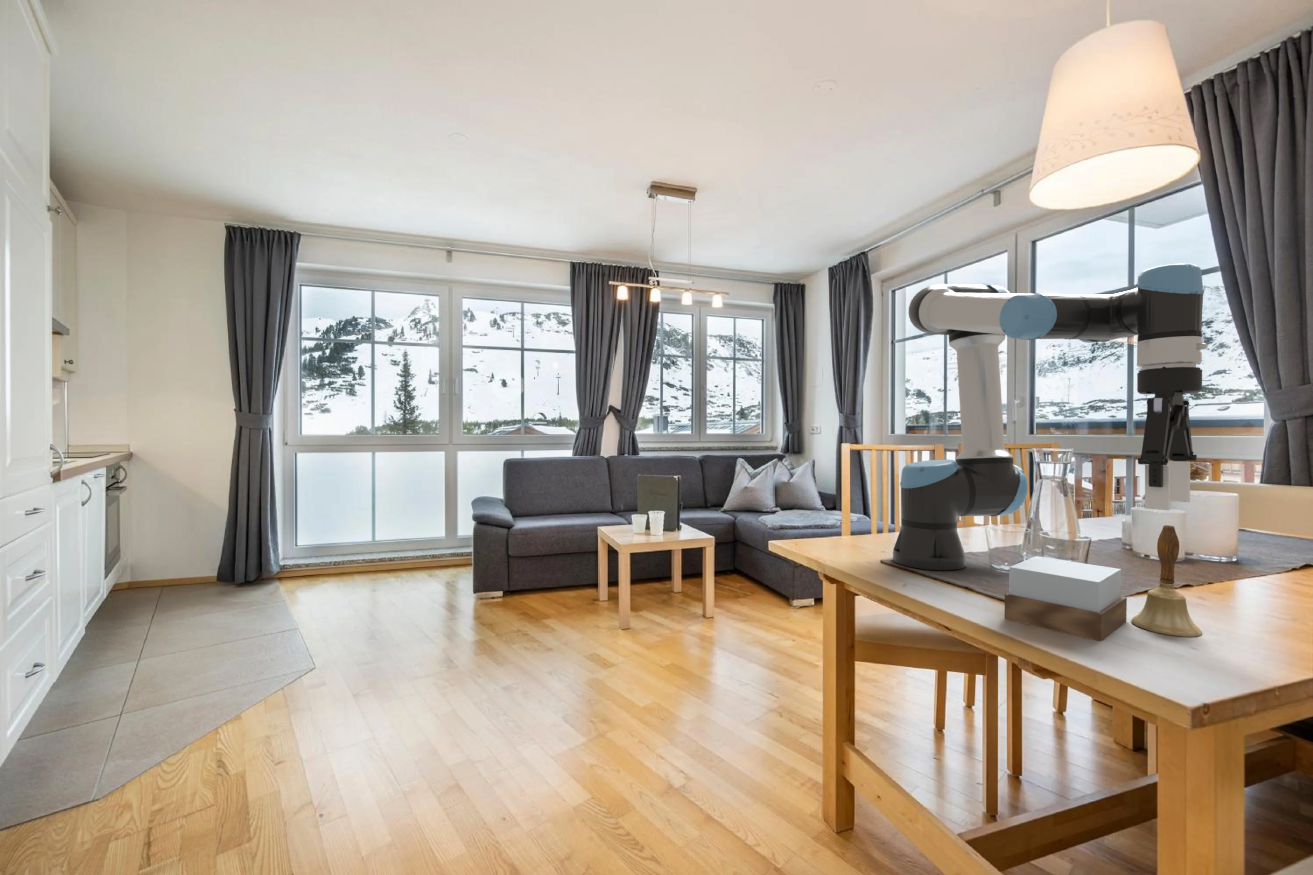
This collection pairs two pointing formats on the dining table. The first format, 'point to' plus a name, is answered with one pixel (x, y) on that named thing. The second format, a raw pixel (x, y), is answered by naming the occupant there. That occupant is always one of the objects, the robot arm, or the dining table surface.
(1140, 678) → the dining table surface
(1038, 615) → the bottom block
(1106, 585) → the top block
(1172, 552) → the hand bell
